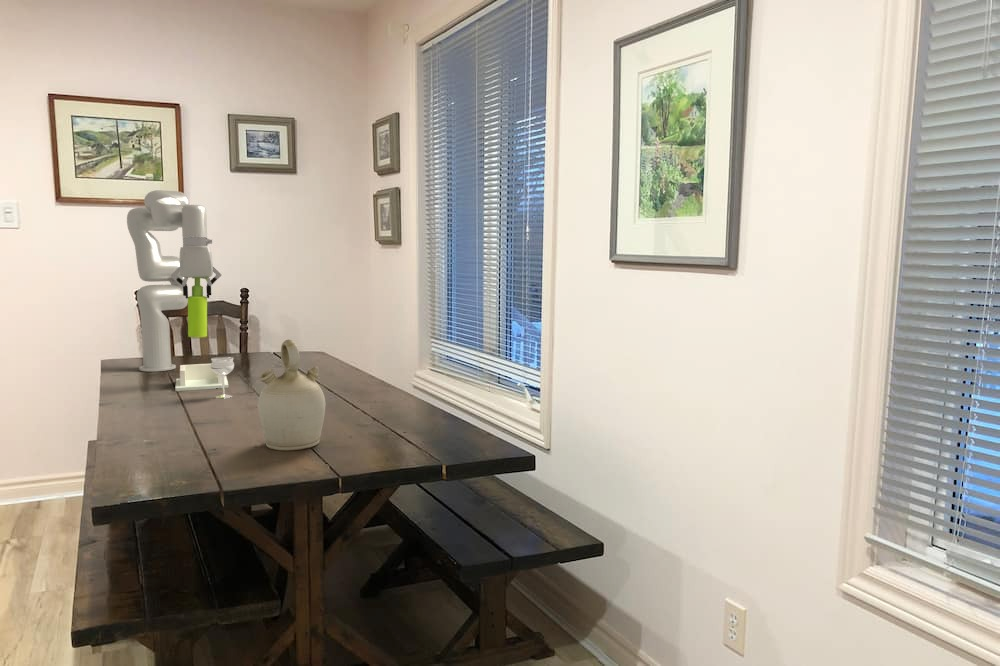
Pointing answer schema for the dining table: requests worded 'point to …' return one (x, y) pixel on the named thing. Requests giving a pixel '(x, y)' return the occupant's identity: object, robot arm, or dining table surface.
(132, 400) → the dining table surface
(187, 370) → the u rest
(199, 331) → the soap dispenser
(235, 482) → the dining table surface
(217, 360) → the wineglass
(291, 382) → the jug
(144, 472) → the dining table surface
